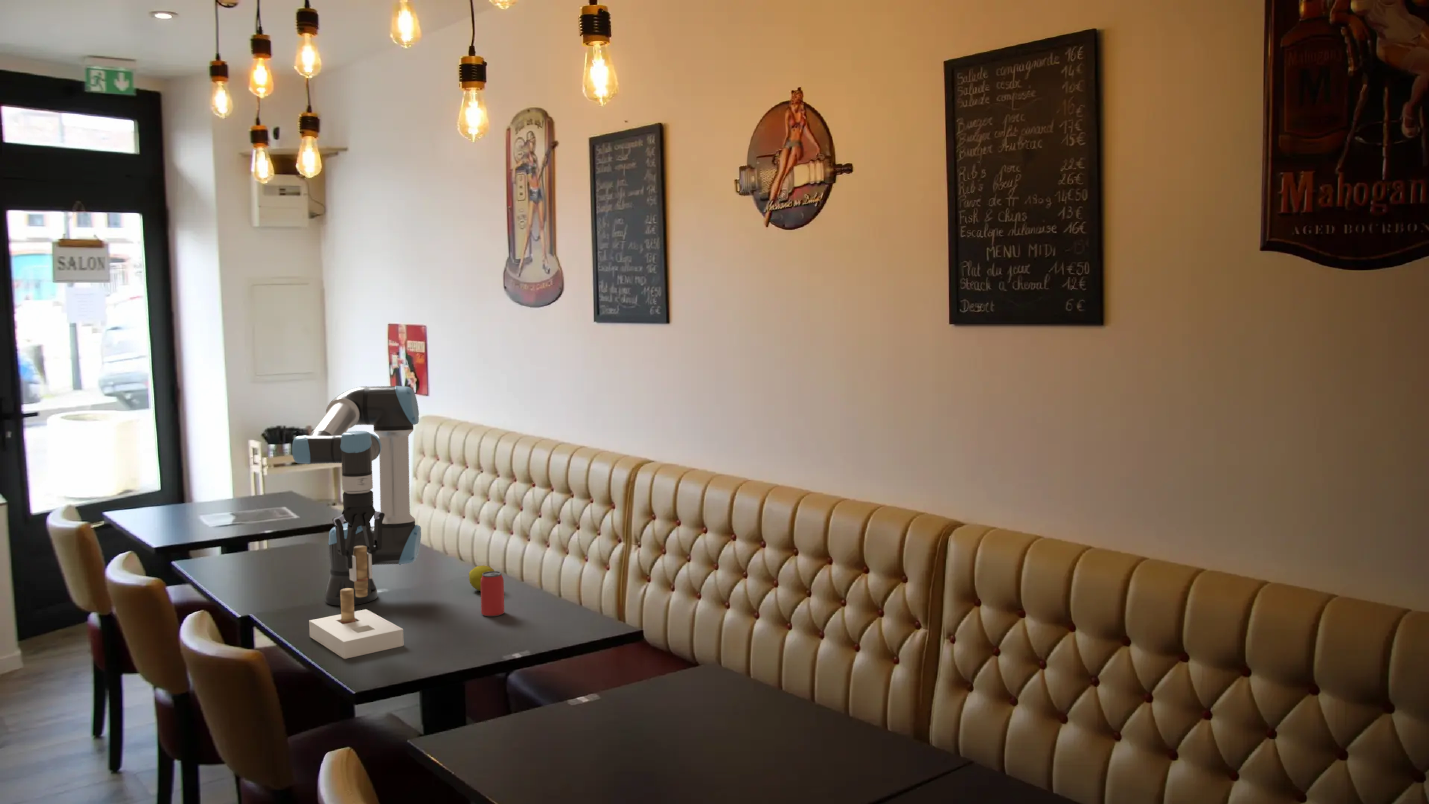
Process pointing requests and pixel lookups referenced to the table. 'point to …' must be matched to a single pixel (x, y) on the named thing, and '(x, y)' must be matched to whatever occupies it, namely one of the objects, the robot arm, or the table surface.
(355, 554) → the honey-oak peg
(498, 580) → the beer can
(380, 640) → the off-white board
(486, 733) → the table surface
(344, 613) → the seated peg
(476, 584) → the lemon
